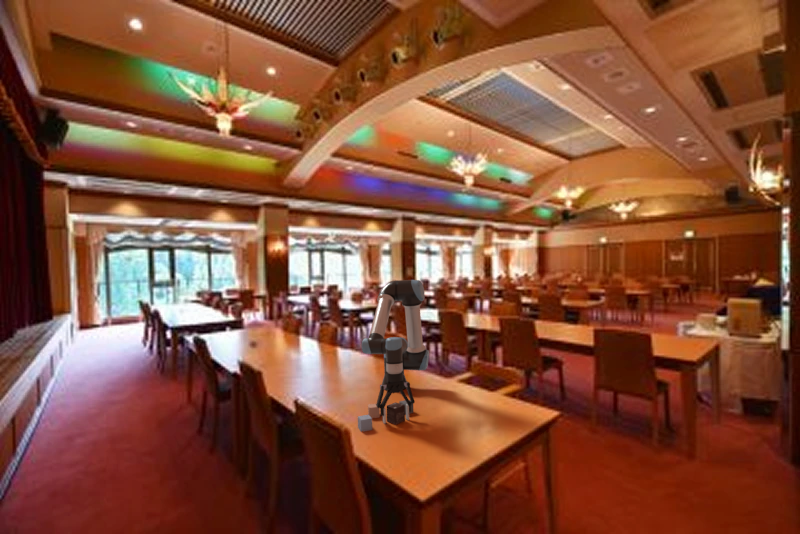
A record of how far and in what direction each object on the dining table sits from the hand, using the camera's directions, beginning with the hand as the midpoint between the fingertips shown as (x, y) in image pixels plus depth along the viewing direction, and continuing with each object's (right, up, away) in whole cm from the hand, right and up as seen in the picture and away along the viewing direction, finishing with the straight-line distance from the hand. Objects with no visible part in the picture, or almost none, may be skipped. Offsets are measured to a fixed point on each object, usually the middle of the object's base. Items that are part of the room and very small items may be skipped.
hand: (396, 420), depth 173 cm
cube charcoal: (+5, 0, +11) cm, 12 cm away
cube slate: (-14, -1, -7) cm, 15 cm away
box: (0, -1, 0) cm, 1 cm away
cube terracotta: (-11, -1, +7) cm, 13 cm away
